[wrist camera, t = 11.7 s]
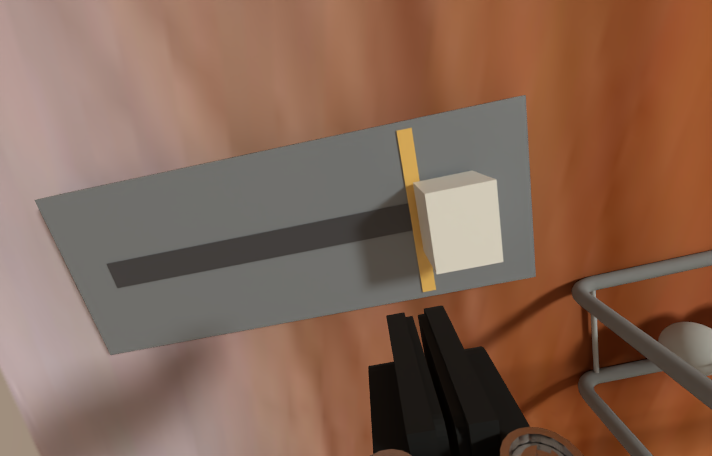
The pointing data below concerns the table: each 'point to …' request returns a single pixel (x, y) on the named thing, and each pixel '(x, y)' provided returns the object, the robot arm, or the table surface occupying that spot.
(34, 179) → the table surface
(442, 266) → the fader tab
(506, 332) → the table surface
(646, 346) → the newton's cradle
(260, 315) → the board
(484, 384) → the robot arm
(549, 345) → the table surface
